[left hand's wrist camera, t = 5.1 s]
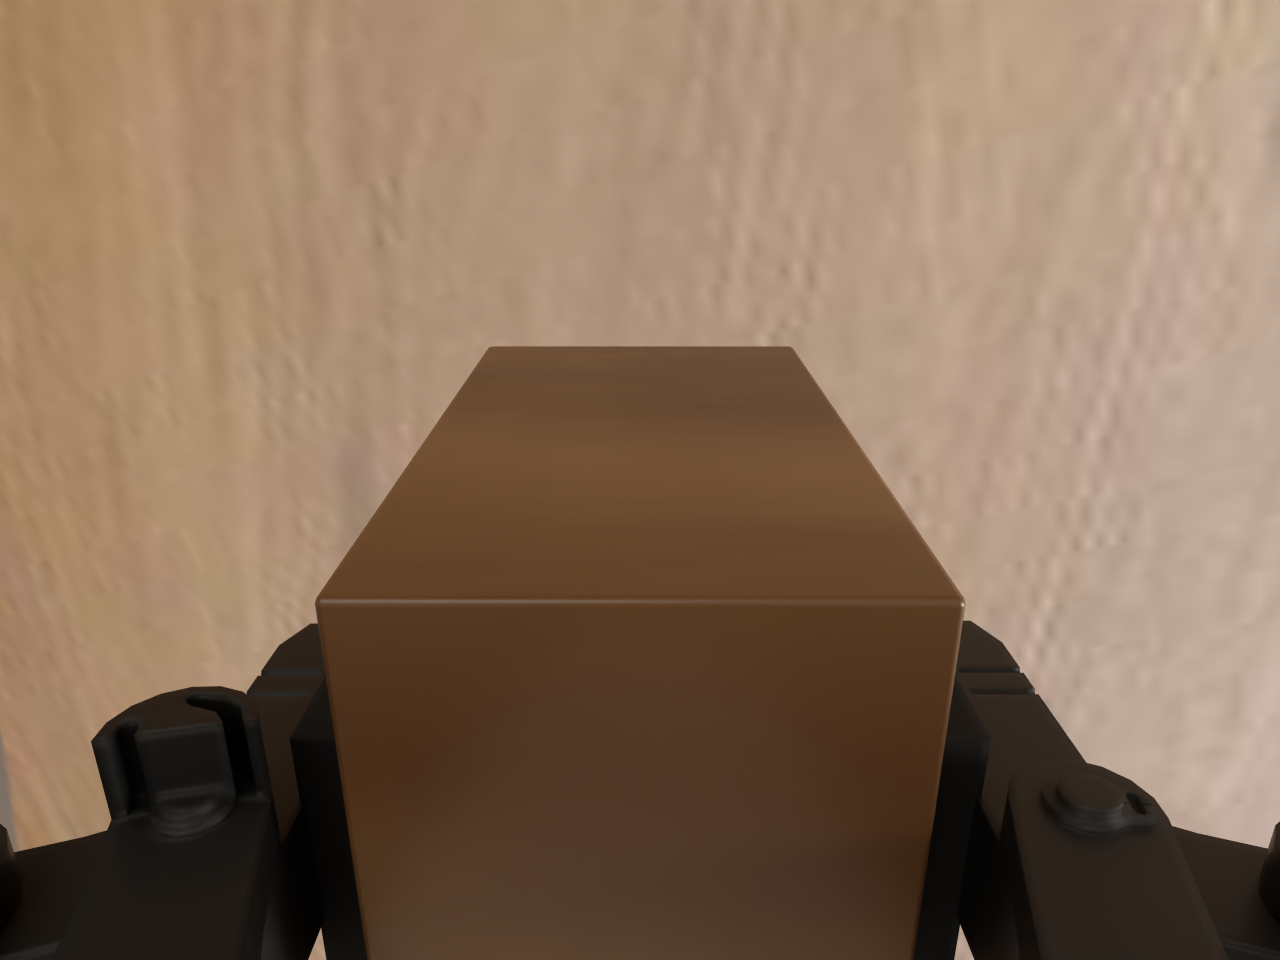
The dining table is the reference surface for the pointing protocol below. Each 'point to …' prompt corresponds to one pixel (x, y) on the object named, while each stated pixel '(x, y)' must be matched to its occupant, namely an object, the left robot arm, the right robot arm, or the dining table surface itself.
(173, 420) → the dining table surface
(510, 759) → the bar
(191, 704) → the left robot arm
